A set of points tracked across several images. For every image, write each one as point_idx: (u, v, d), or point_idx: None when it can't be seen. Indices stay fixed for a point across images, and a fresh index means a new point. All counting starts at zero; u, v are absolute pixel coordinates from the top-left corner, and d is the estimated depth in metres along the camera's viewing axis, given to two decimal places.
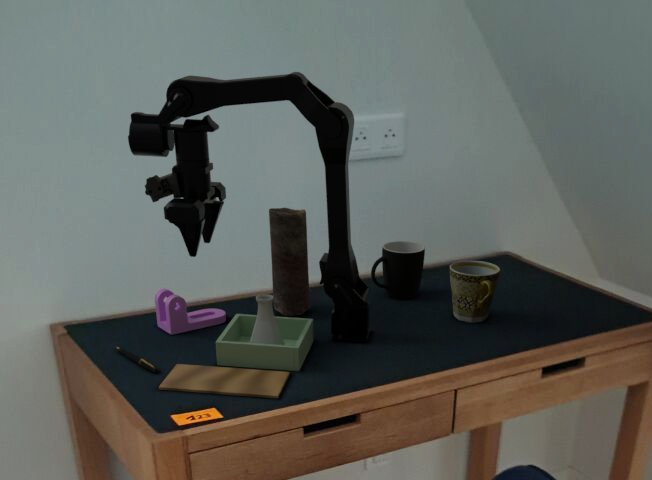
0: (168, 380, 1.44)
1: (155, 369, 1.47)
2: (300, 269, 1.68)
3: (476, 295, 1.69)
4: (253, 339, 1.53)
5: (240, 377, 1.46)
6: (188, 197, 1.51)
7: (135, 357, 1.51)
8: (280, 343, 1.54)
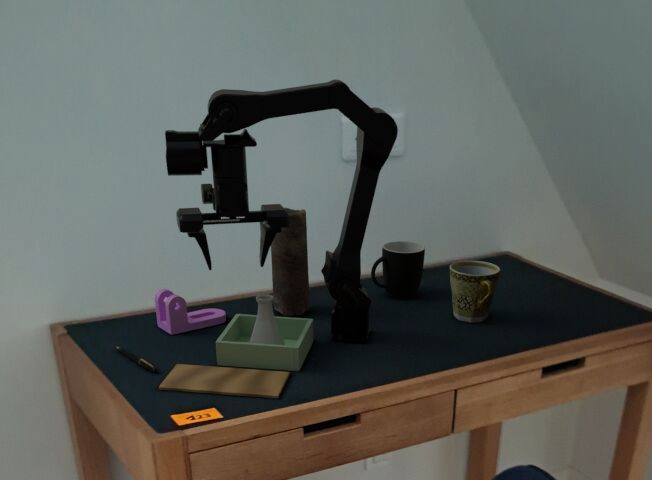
0: (168, 380, 1.44)
1: (154, 369, 1.47)
2: (300, 269, 1.68)
3: (476, 295, 1.69)
4: (253, 339, 1.53)
5: (240, 377, 1.46)
6: None
7: (135, 357, 1.51)
8: (280, 343, 1.54)
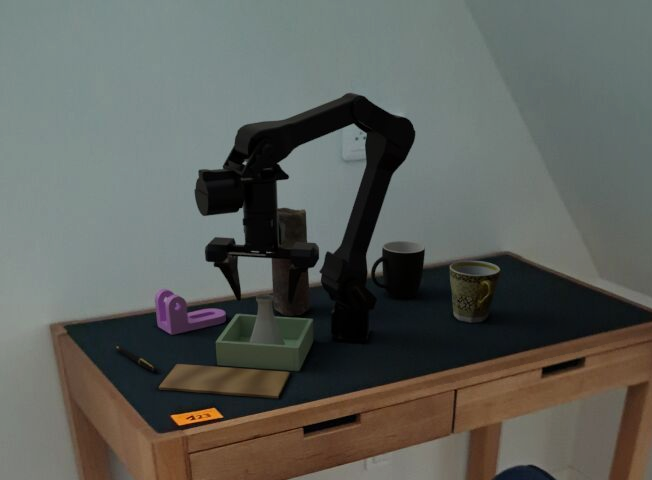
0: (168, 380, 1.44)
1: (154, 369, 1.47)
2: None
3: (476, 295, 1.69)
4: (253, 339, 1.53)
5: (240, 377, 1.46)
6: None
7: (134, 356, 1.51)
8: (280, 343, 1.54)
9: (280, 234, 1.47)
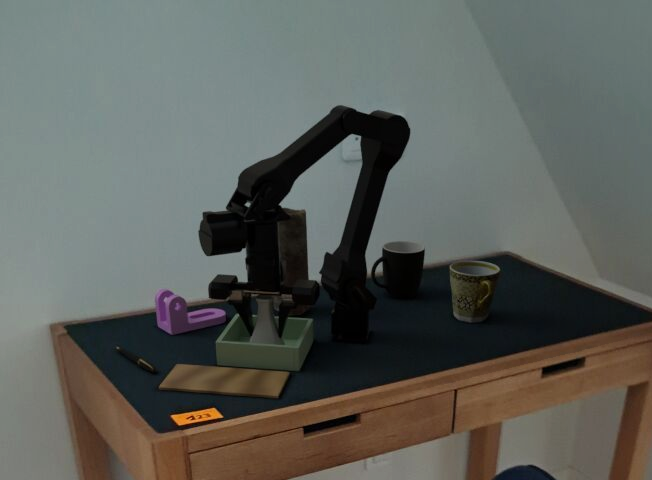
0: (168, 380, 1.44)
1: (153, 369, 1.47)
2: (300, 269, 1.68)
3: (476, 295, 1.69)
4: (253, 339, 1.53)
5: (240, 377, 1.46)
6: None
7: (134, 357, 1.51)
8: (280, 343, 1.54)
9: (282, 272, 1.50)
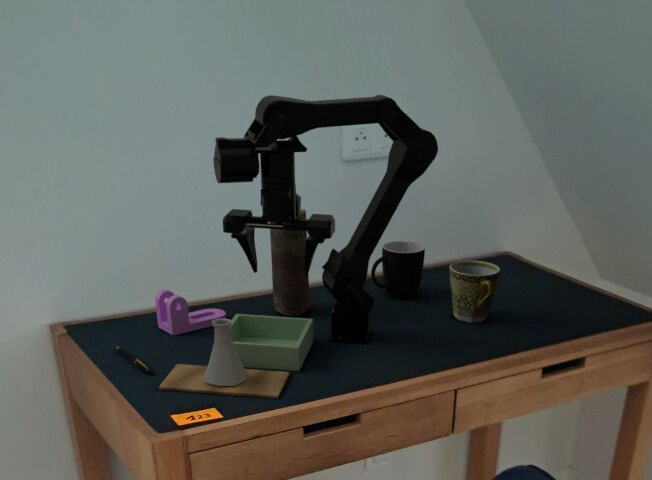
0: (168, 380, 1.44)
1: (149, 370, 1.46)
2: (300, 269, 1.68)
3: (476, 295, 1.69)
4: (210, 366, 1.42)
5: None
6: None
7: (132, 357, 1.50)
8: (239, 371, 1.43)
9: (297, 206, 1.48)
